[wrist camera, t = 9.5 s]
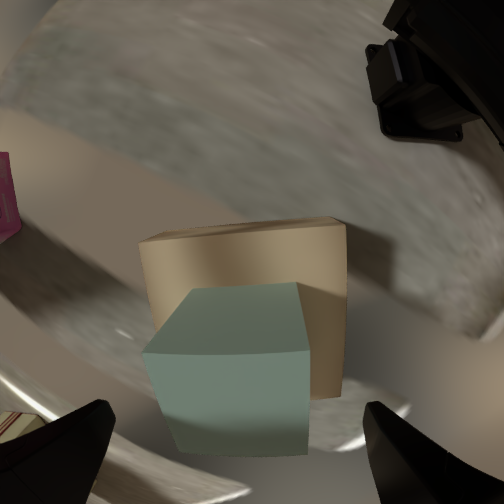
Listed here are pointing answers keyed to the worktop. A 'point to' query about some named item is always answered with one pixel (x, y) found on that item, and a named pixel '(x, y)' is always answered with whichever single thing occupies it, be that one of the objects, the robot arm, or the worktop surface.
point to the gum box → (7, 201)
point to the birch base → (261, 277)
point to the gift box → (19, 426)
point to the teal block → (234, 371)
